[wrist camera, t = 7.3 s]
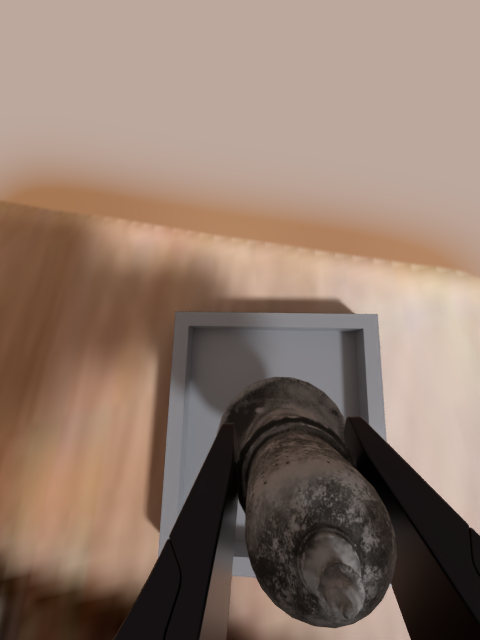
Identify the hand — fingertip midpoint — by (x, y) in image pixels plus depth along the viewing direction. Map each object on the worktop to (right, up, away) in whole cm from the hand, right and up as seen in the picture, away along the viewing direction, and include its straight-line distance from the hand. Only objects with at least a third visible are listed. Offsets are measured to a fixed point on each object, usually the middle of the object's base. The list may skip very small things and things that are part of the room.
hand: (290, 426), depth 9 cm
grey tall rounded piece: (0, -3, +7) cm, 7 cm away
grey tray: (+1, -4, +11) cm, 12 cm away
